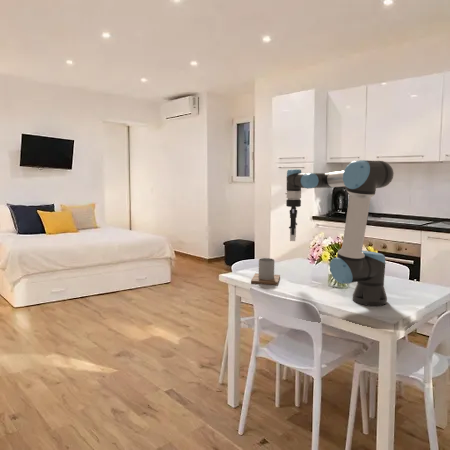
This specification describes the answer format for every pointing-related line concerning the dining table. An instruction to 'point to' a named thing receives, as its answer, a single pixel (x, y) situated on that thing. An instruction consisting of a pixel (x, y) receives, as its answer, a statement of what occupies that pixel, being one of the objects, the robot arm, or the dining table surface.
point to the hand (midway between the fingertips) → (293, 239)
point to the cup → (266, 268)
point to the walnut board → (260, 281)
